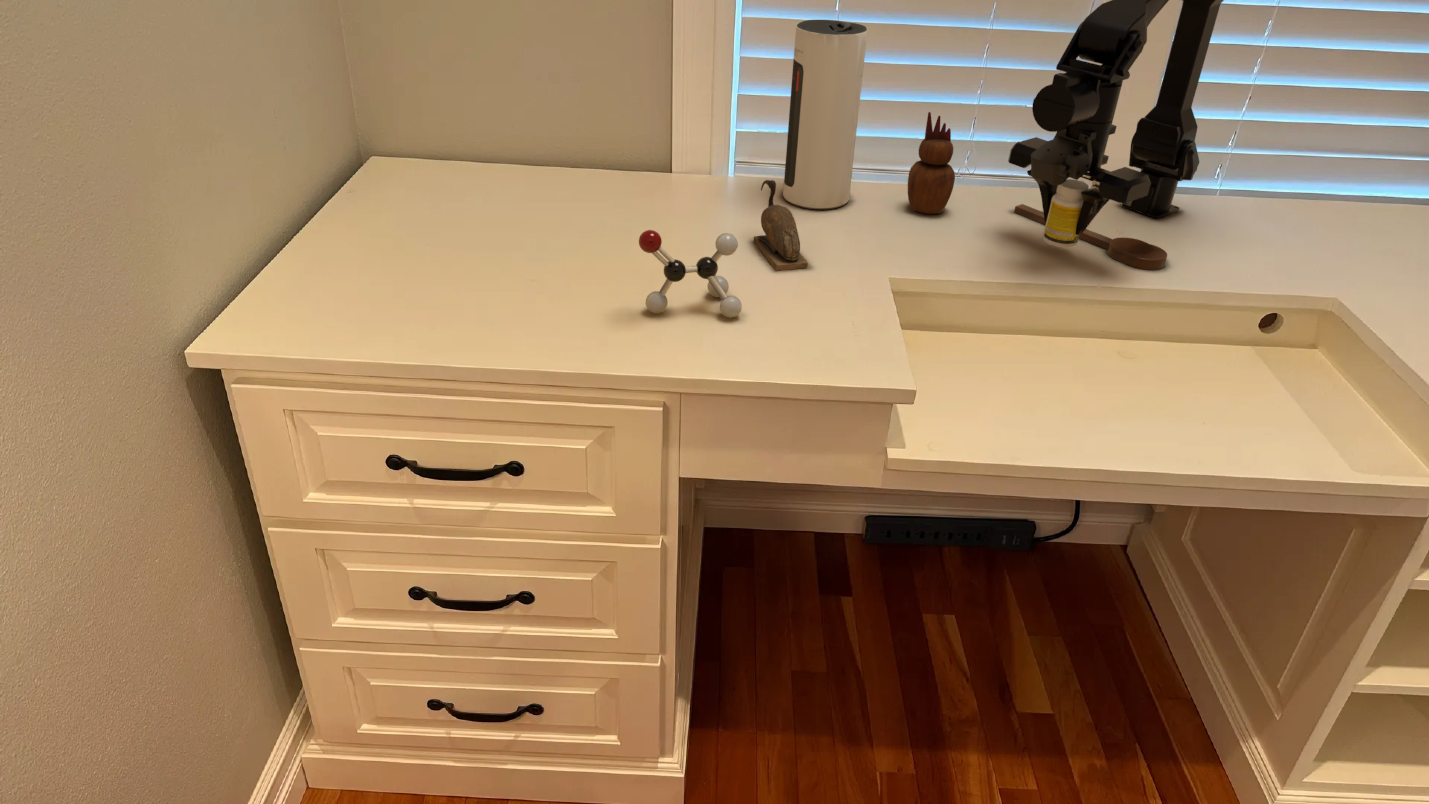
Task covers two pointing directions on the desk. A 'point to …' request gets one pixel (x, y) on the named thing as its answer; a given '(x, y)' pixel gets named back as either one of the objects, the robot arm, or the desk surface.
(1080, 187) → the supplement bottle
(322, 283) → the desk surface
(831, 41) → the speaker
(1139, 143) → the robot arm
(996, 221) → the desk surface
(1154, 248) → the wooden spoon
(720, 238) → the molecular model
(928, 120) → the wooden figurine
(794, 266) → the figurine
